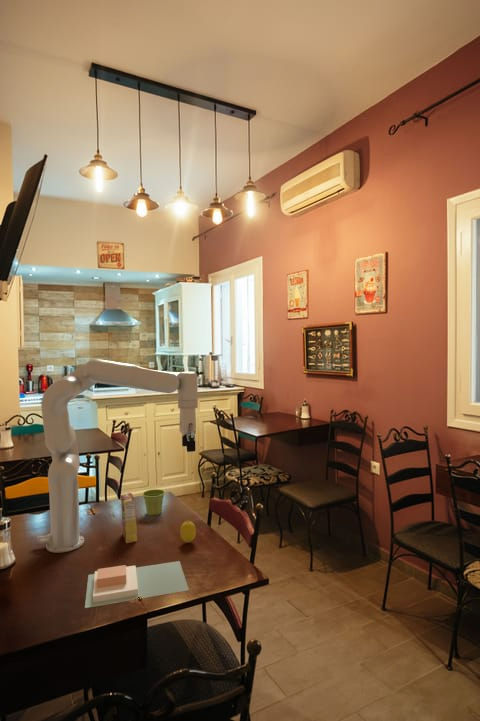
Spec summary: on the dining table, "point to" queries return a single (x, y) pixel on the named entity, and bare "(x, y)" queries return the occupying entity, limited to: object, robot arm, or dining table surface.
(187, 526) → the lemon
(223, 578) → the dining table surface
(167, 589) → the rubber mat
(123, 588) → the block
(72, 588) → the dining table surface
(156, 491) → the plant pot
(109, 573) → the terracotta tile
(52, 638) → the dining table surface
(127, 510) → the candy box
